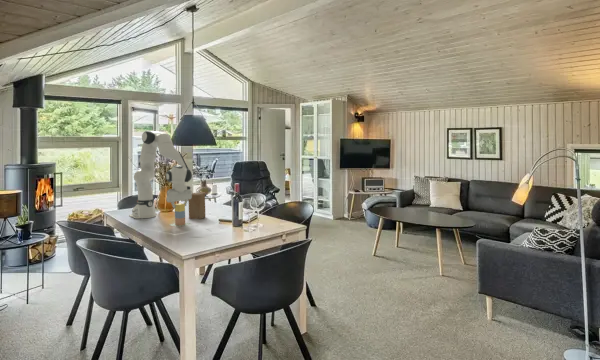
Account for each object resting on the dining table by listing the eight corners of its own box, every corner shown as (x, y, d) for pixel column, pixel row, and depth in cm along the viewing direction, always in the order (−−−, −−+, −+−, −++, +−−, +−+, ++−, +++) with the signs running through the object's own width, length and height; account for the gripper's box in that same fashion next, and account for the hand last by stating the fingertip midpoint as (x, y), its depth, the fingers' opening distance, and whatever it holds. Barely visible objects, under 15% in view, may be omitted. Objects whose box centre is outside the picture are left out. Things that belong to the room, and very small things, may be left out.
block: (200, 219, 291) (199, 194, 289) (188, 219, 293) (187, 194, 291) (206, 217, 301) (205, 192, 299) (194, 216, 303) (193, 192, 301)
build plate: (168, 226, 270) (168, 224, 270) (181, 222, 280) (181, 221, 280) (179, 228, 264) (179, 227, 264) (192, 224, 274) (192, 223, 274)
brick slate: (179, 218, 268) (179, 211, 268) (175, 217, 271) (174, 211, 270) (185, 217, 272) (184, 210, 272) (180, 216, 275) (180, 210, 274)
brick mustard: (174, 211, 270) (174, 204, 270) (180, 210, 274) (180, 203, 274) (179, 211, 268) (179, 204, 267) (184, 210, 272) (184, 203, 271)
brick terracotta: (175, 224, 271) (175, 217, 271) (180, 223, 275) (180, 216, 275) (179, 225, 269) (179, 218, 268) (185, 224, 273) (185, 217, 272)
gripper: (169, 189, 259) (170, 209, 260) (192, 186, 276) (193, 205, 277) (164, 189, 262) (164, 208, 264) (187, 186, 279) (187, 204, 281)
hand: (179, 206), depth 271 cm, fingers open, 8 cm apart
